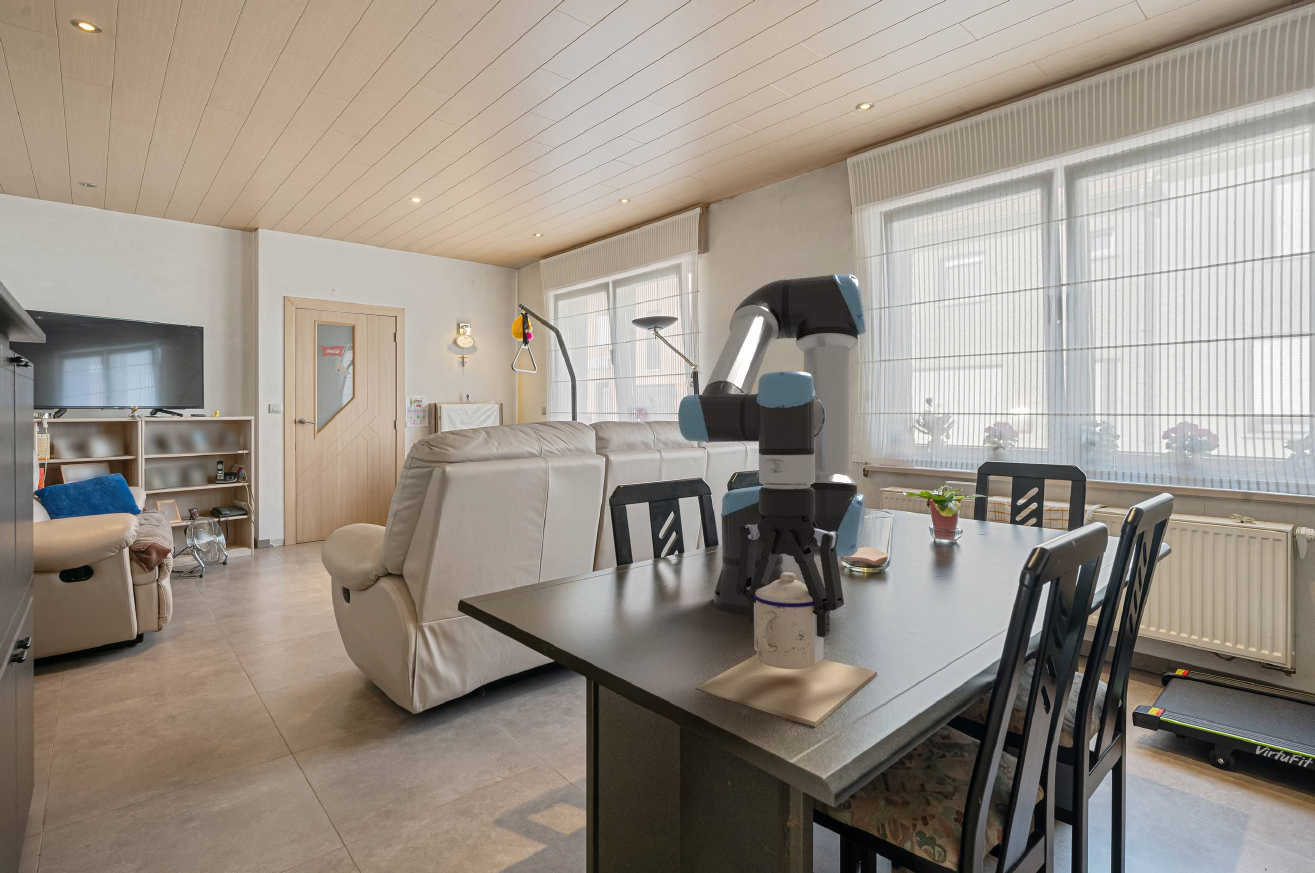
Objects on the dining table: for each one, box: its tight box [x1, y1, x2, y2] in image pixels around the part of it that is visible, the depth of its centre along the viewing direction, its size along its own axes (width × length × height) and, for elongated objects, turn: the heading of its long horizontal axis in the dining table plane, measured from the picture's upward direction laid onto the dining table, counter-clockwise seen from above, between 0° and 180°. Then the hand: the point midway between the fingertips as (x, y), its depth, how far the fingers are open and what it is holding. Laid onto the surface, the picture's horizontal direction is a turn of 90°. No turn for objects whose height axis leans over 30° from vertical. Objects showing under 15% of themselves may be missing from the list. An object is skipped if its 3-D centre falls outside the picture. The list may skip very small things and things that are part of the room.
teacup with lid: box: [754, 571, 821, 669], centre depth 88 cm, size 12×9×12 cm
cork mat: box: [695, 653, 878, 728], centre depth 89 cm, size 17×20×1 cm
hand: (788, 653), depth 89 cm, fingers closed on teacup with lid, 8 cm apart
